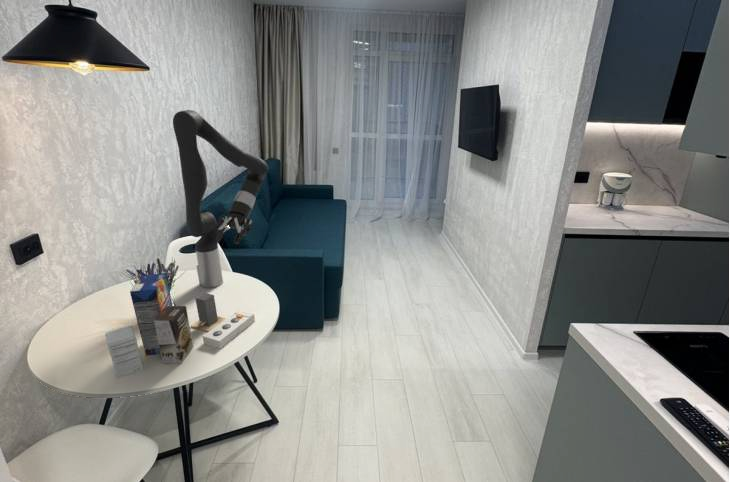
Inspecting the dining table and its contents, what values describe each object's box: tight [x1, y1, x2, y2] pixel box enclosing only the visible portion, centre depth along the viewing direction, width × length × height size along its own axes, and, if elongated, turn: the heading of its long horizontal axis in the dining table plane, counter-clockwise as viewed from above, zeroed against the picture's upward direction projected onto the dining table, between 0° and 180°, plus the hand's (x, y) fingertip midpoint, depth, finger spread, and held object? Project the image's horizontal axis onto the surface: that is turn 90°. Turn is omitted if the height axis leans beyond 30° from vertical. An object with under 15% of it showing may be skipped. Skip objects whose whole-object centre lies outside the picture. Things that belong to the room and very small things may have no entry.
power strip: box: [202, 309, 256, 349], centre depth 139 cm, size 8×18×4 cm, turn 158°
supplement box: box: [105, 325, 144, 378], centre depth 119 cm, size 7×7×13 cm
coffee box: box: [154, 305, 194, 365], centre depth 124 cm, size 9×6×16 cm
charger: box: [195, 292, 218, 327], centre depth 142 cm, size 4×7×11 cm
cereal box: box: [129, 272, 173, 357], centre depth 129 cm, size 12×8×24 cm, turn 13°
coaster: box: [190, 315, 227, 333], centre depth 145 cm, size 9×9×1 cm
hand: (226, 241), depth 146 cm, fingers open, 8 cm apart
